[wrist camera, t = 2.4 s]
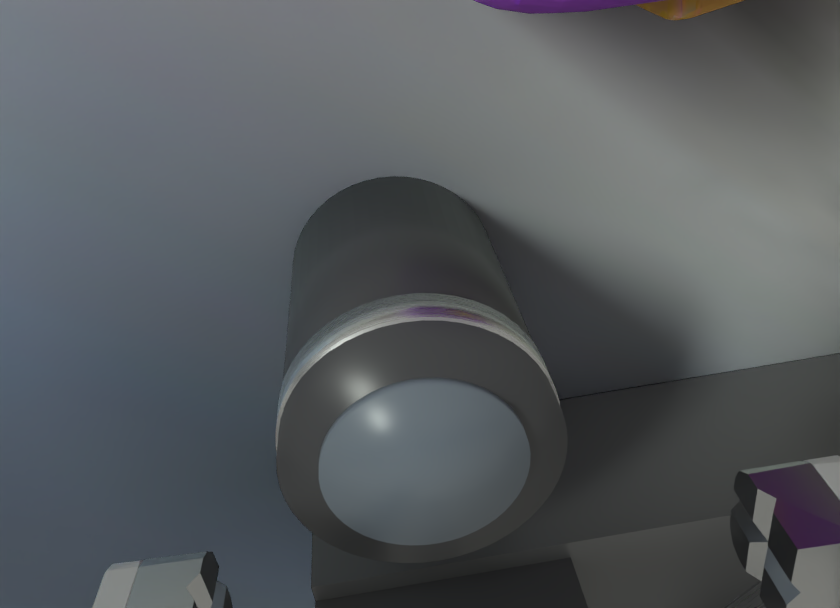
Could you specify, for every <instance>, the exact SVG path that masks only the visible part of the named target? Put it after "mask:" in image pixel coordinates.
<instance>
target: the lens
mask: <svg viewBox="0 0 840 608" xmlns="http://www.w3.org/2000/svg"><path fill="white" fill-rule="evenodd" d="M275 438H276V452H277V456H276V464H277V476H278V481H279V486H280V489H281V491H282V494H283V496H284V499H285V501H286V503H287V504H288V506H289V508H290V509H291V511H292V512H293V514H294V515H295V516H296V517H297V518H298V520H299V521H300V522H301V523H302V524H303V525H304V526H305V527H306V528H307V529H308V530H310V531H311V532H312V533H313V534H314V535H316V536H317V537H319V538H320V539H322V540H323V541H325V542H326V543H328V544H330V545H332V546H334V547H336V548H338V549H340V550H342V551H345V552H348V553H350V554H353V555H356V556H359V557H363V558H367V559H371V560H377V561H384V562H393V563H424V562H432V561H440V560H445V559H449V558H454V557H458V556H461V555H464V554H468V553H471V552H474V551H476V550H479V549H481V548H484V547H486V546H488V545H491V544H492V543H494V542H496V541H498V540H500V539H502V538H504V537H505V536H507V535H508V534H510V533H511V532H513V531H514V530H516V529H517V528H519V527H520V526H521V525H522V524H524V523H525V522H526V521H527V520H528V519H530V518H531V517H532V516H533V515H534V514H535V513H536V512H537V511H538V510H539V509H540V507H541V506H542V505H543V504H544V503H545V501H546V500H547V499H548V497H549V496H550V495H551V493H552V491H553V490H554V488H555V486H556V484H557V483H558V481H559V478H560V476H561V473H562V471H563V468H564V464H565V460H566V455H567V444H568V436H567V427H566V422H565V419H564V415H563V412H562V409H561V407H560V401H559V398H558V395H557V391H556V388H555V385H554V383H553V381H552V379H551V376H550V374H549V372H548V369H547V367H546V365H545V362H544V360H543V358H542V356H541V354H540V352H539V350H538V348H537V347H536V345H535V344H534V343H533V341H532V339H531V336H530V334H529V332H528V329H527V327H526V325H525V322H524V320H523V318H522V315H521V313H520V311H519V308H518V306H517V304H516V301H515V299H514V296H513V294H512V292H511V289H510V287H509V285H508V282H507V280H506V278H505V275H504V273H503V271H502V268H501V266H500V264H499V261H498V259H497V256H496V254H495V252H494V249H493V247H492V245H491V242H490V240H489V238H488V235H487V233H486V231H485V229H484V227H483V225H482V223H481V221H480V220H479V218H478V217H477V215H476V214H475V212H474V211H473V210H472V209H471V208H470V207H469V206H468V205H467V204H466V203H465V202H464V201H463V200H462V199H461V198H459V197H458V196H457V195H455V194H454V193H452V192H451V191H449V190H447V189H446V188H444V187H441V186H439V185H437V184H434V183H432V182H428V181H425V180H421V179H416V178H410V177H382V178H376V179H371V180H367V181H363V182H360V183H358V184H355V185H352V186H350V187H348V188H346V189H344V190H342V191H340V192H338V193H337V194H336V195H334V196H333V197H331V198H330V199H328V200H327V201H326V202H325V203H324V204H323V205H321V206H320V207H319V208H318V209H317V210H316V212H315V213H314V214H313V215H312V216H311V217H310V219H309V220H308V222H307V223H306V225H305V227H304V228H303V230H302V232H301V235H300V237H299V239H298V242H297V245H296V249H295V252H294V260H293V269H292V281H291V293H290V304H289V316H288V328H287V339H286V351H285V363H284V374H283V383H282V386H281V389H280V395H279V402H278V411H277V422H276V433H275Z"/></svg>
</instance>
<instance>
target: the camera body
mask: <svg viewBox="0 0 840 608" xmlns="http://www.w3.org/2000/svg"><path fill="white" fill-rule="evenodd" d="M559 401H560V407H561V409H562V412H563V415H564V419H565V422H566V427H567V436H568V444H567V455H566V460H565V464H564V468H563V471H562V473H561V476H560V478H559V481H558V483H557V484H556V486H555V488H554V490H553V491H552V493H551V495H550V496H549V497H548V499H547V500H546V501H545V503H544V504H543V505H542V506H541V507H540V509H539V510H538V511H537V512H536V513H535V514H534V515H533V516H532V517H531V518H530V519H528V520H527V521H526V522H525V523H524V524H522V525H521V526H520V527H519V528H517V529H516V530H514V531H513V532H511V533H510V534H508V535H507V536H505V537H504V538H502V539H500V540H498V541H496V542H494V543H492V544H491V545H488V546H486V547H484V548H481V549H479V550H476V551H474V552H471V553H468V554H464V555H461V556H458V557H454V558H449V559H445V560H440V561H432V562H424V563H393V562H384V561H377V560H371V559H367V558H363V557H359V556H356V555H353V554H350V553H348V552H345V551H342V550H340V549H338V548H336V547H334V546H332V545H330V544H328V543H326V542H325V541H323V540H322V539H320V538H319V537H317V536H316V535H314V534H313V533H312V573H311V588H312V592H313V595H314V598H315V608H766V607H765V605H764V603H763V601H762V600H761V598H760V589H761V583H762V581H760V580H758V579H757V578H755V577H754V576H752V575H751V574H749V573H747V572H746V571H745V569H744V567H743V566H742V564H741V562H740V560H739V558H738V556H737V553H736V551H735V548H734V545H733V542H732V536H731V531H730V515H731V510H732V509H733V507H734V506H735V505H736V504H737V503H738V502H739V501H740V499H739V498H738V496H737V494H736V493H735V491H734V482H735V477H736V475H737V473H738V472H739V471H740V470H746V469H752V468H759V467H765V466H771V465H777V464H783V463H790V462H796V461H804V460H809V459H816V458H822V457H829V456H835V455H838V456H840V354H834V355H828V356H822V357H816V358H810V359H804V360H798V361H792V362H786V363H780V364H774V365H768V366H762V367H756V368H750V369H744V370H738V371H732V372H726V373H720V374H714V375H708V376H702V377H696V378H690V379H684V380H678V381H672V382H666V383H660V384H654V385H648V386H642V387H636V388H630V389H624V390H618V391H612V392H606V393H600V394H594V395H588V396H582V397H576V398H570V399H564V400H559Z"/></svg>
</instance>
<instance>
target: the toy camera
mask: <svg viewBox="0 0 840 608" xmlns="http://www.w3.org/2000/svg"><path fill="white" fill-rule="evenodd" d="M474 1H476V2H479V3H482V4H484V5H487V6H490V7H493V8H496V9H501V10H508V11H515V12H522V13H564V12H585V11H593V10H600V9H607V8H614V7H621V6H629V5H636V6H639V7H641V8H643V9H645V10H647V11H649V12H651V13H654V14H656V15H658V16H660V17H663V18H665V19H668V20H681V19H688V18H693V17H696V16H699V15H702V14H705V13H708V12H711V11H714V10H717V9H720V8H723V7H726V6H729V5H732V4H735V3H738V2H741V1H744V0H474Z"/></svg>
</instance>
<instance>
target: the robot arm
mask: <svg viewBox="0 0 840 608" xmlns="http://www.w3.org/2000/svg"><path fill="white" fill-rule="evenodd" d="M734 491H735V493H736V494H737V496H738V498H739V499H740V501H739V502H738V503H737V504H736V505H735V506H734V507H733V509H732V510H731V515H730V531H731V536H732V542H733V545H734V548H735V551H736V553H737V556H738V558H739V560H740V562H741V564H742V566H743V567H744V569H745V571H746V572H747V573H749V574H751V575H752V576H754V577H755V578H757V579H758V580H760V581H762V583H761V589H760V598H761V600H762V601H763V603H764V605H765V607H766V608H840V456H838V455H835V456H829V457H822V458H816V459H809V460H804V461H796V462H790V463H783V464H777V465H771V466H765V467H759V468H752V469H746V470H740V471H739V472H738V473H737V475H736V477H735V482H734ZM218 570H219V566H218V563H217V561H216V559H215V556H214V554H213V552H208V551H206V552H198V553H190V554H182V555H174V556H166V557H158V558H150V559H144V560H138V561H130V562H123V563H115V564H112V565H111V566H110V567H109V568H108V569H107V571H106V572H105V573H104V576H103V579H102V581H101V584H100V587H99V590H98V593H97V595H96V598H95V601H94V604H93V607H92V608H233V607H232V602H231V597H230V594H229V592H228V589H227V586H225V585H224V584H222V583H220V582H219V581H217V575H218Z"/></svg>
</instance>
